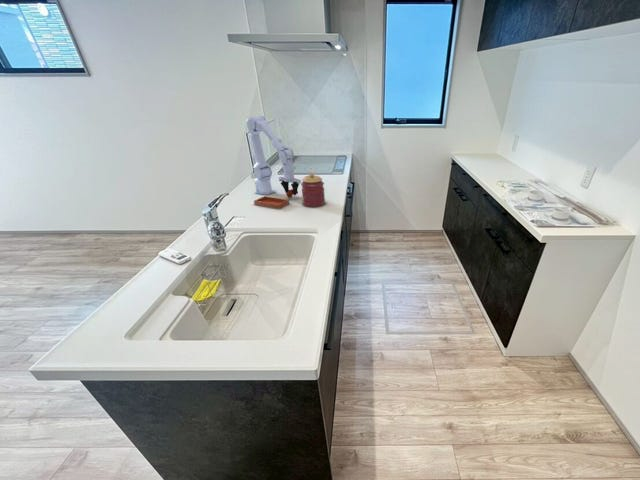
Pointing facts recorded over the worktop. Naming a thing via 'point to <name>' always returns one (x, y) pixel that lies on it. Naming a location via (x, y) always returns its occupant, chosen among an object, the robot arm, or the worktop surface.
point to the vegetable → (290, 193)
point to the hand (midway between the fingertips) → (291, 194)
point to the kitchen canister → (313, 191)
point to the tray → (271, 202)
